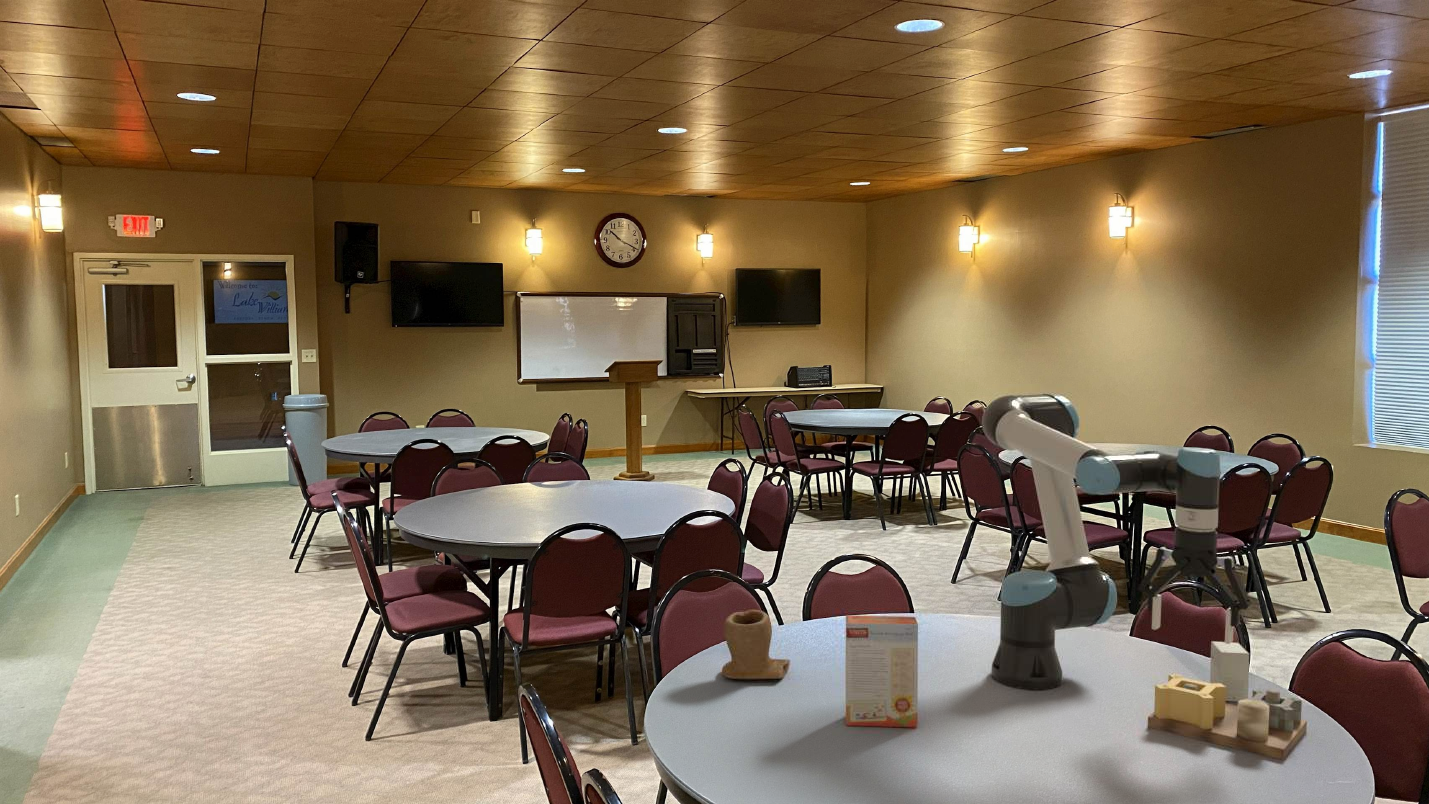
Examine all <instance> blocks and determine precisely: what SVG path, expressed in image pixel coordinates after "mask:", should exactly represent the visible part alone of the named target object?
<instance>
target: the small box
mask: <svg viewBox="0 0 1429 804" xmlns="http://www.w3.org/2000/svg"><path fill="white" fill-rule="evenodd" d="M1249 669H1250V653H1249V652H1248V650H1246V649H1245V648H1244V647H1243V646H1242V645H1241V644H1240V643H1239V642H1233V641H1232V642H1231V643H1230V644H1226V643H1225V641H1213V640H1212V641H1211V642H1210V669H1209V670H1210V671H1209V672H1210V676H1209V683H1221V684H1222V685H1224V686H1226V701H1225V702H1237V703H1238V701H1240V700H1244V699H1249V673H1250V672H1249V671H1250V670H1249Z"/></svg>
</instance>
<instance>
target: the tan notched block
mask: <svg viewBox="0 0 1429 804" xmlns="http://www.w3.org/2000/svg"><path fill="white" fill-rule="evenodd" d="M1184 684H1194V685H1196V686H1198V689H1197V691H1194V690H1189V689H1185V688H1184ZM1226 702H1227V701H1226V686H1224V685H1222V684H1221V683H1210V682H1205V681H1201V680H1196V679H1191V678H1188V677H1187V678H1186V677H1183V676H1181V675H1180V674H1178V673H1177V674H1174V673H1173V674H1168V680H1167V683H1165V684H1155V685H1154V704H1153V705H1154V707H1153V708H1154V709H1153V710H1154V711H1153V712H1154V715H1155V716H1157V717H1158V718H1170V719H1174V720H1179V721H1183V722H1187V723H1191V724H1196V725H1198V726H1199V727H1201V728H1202V729H1213V718H1214V717H1225V703H1226Z"/></svg>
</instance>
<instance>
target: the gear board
mask: <svg viewBox="0 0 1429 804" xmlns="http://www.w3.org/2000/svg"><path fill="white" fill-rule="evenodd" d="M1184 688H1185V689H1189V690H1194V691H1197V689H1198V686H1196V685H1194V684H1184ZM1251 697H1252V698H1248V699H1244V700H1240V701H1238V702H1237V704H1233V703H1227V702H1225V717H1214V718H1213V729H1202V728H1201V727H1199V726H1198V725H1196V724H1191V723H1187V722H1183V721H1179V720H1174V719H1170V718H1158V717H1157V716H1155V715H1154V711H1153V712H1152V713H1150V715H1148V716H1147V727H1148V728H1152V729H1154V730H1155V729H1156V730H1159V731H1163V732H1168V733H1172V734H1176V735H1180V736H1183V737H1187V738H1192V739H1196V740H1201V741H1204V742H1208V743H1212V744H1217V745H1221V746H1225V747H1229V748H1233V749H1237V750H1241V751H1245V752H1249V753H1253V754H1258V755H1261V756H1265V757H1270V758H1273V759H1277V760H1281V761H1284V760H1285V759H1286V758H1287V756H1288V755H1289V754H1290V752H1291V751H1292V750H1293V749H1294V748H1295V746H1296V745H1297V744H1298V742H1299V741H1300V740H1301V738H1302V737H1303V736H1304V734H1305V733H1306V732H1307V729H1308V728H1307V725H1308V723H1307V722H1308V720H1305V719H1302V703H1303V700H1301V699H1300V698H1298V697H1297V696H1296V697H1287V696H1283V695H1281V692H1280V690H1277V689H1271V688H1269V689H1266V690H1265V691H1264V690H1261V689H1253V690H1252V696H1251Z"/></svg>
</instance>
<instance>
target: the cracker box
mask: <svg viewBox="0 0 1429 804" xmlns="http://www.w3.org/2000/svg"><path fill="white" fill-rule="evenodd" d="M918 647H919V623H918V621H917V618H916V616H899V615H898V616H897V615H895V616H893V615H890V616H888V615H887V616H886V615H883V616H882V615H878V616H877V615H846V616H845V722H846V724H845V725H846V726H849V727H850V726H853V727H855V726H857V727H859V726H860V727H886V728H887V727H888V728H889V727H892V728H893V727H894V728H918V702H919V701H918V700H919V699H918V695H919V693H918V692H919V691H918V690H919V687H918V686H919V685H918V684H919V683H918V681H919V680H918V679H919V678H918V676H919V672H918V670H919V669H918V667H919V664H918V663H919V661H918V660H919V659H918V658H919V654H918V653H919V652H918V651H919V649H918Z"/></svg>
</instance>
